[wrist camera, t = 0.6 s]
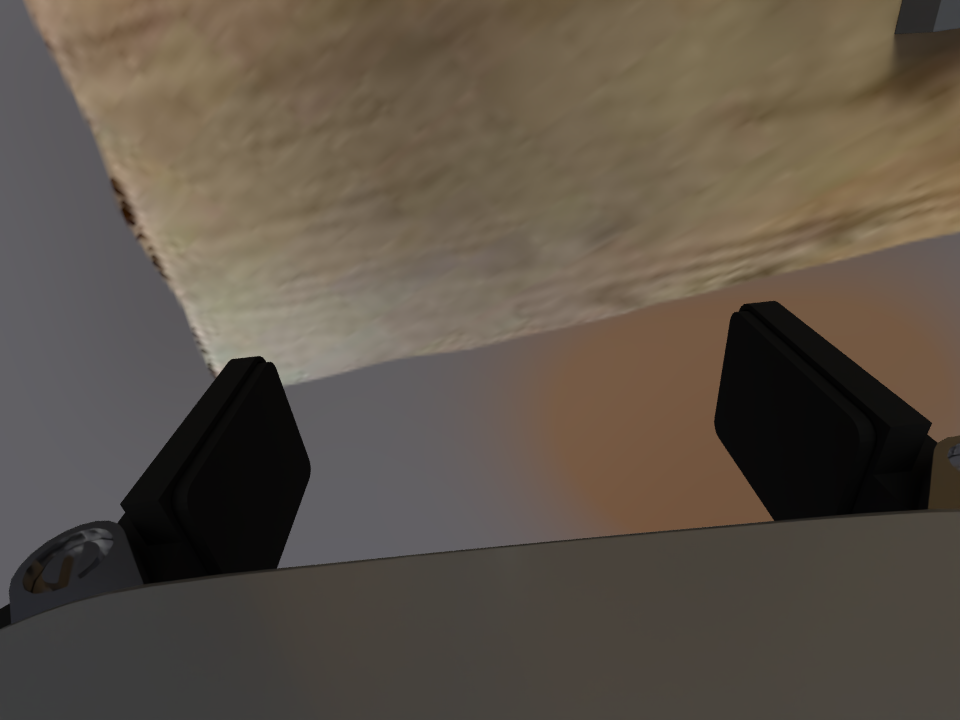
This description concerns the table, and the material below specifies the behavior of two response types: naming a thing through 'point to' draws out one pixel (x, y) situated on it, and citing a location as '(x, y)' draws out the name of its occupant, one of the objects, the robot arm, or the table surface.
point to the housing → (928, 16)
